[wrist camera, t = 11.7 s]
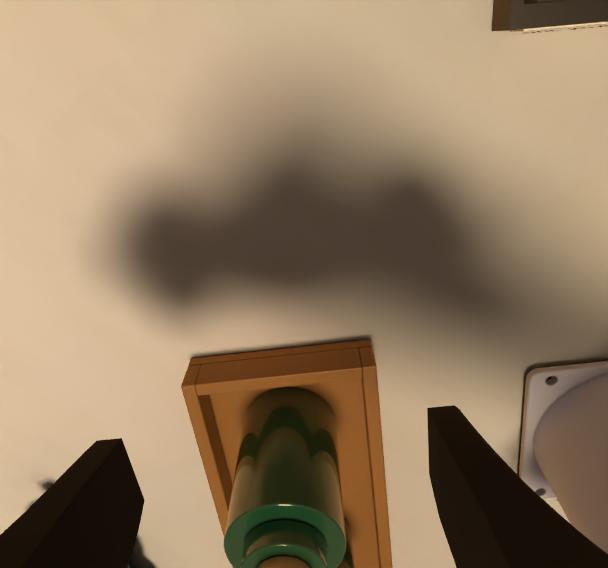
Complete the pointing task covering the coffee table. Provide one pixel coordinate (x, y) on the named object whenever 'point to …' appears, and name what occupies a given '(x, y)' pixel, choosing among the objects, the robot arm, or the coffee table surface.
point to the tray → (327, 384)
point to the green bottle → (287, 485)
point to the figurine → (547, 14)
